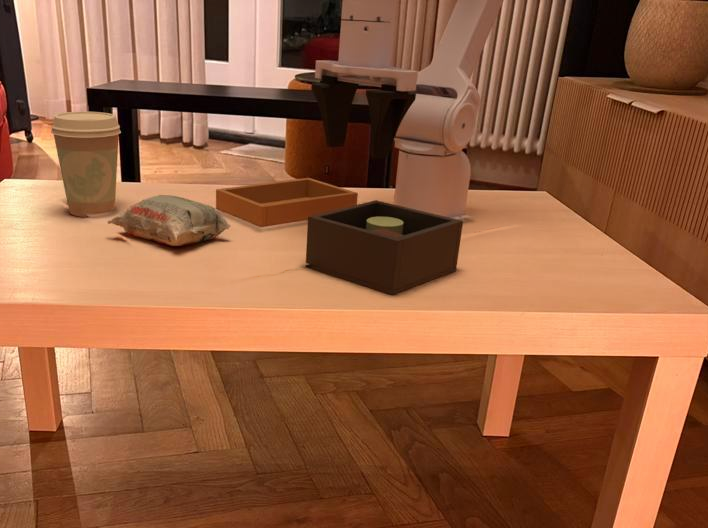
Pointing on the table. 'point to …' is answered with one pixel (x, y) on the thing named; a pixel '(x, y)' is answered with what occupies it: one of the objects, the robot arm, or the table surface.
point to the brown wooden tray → (283, 201)
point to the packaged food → (171, 220)
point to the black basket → (383, 246)
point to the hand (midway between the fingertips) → (356, 151)
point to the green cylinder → (385, 224)
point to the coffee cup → (87, 160)
